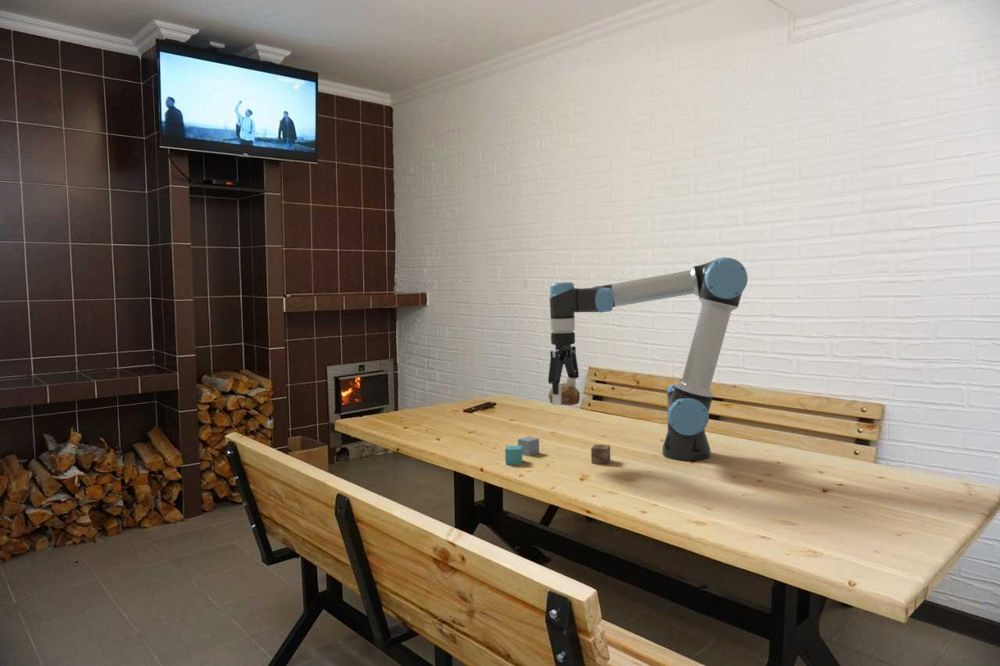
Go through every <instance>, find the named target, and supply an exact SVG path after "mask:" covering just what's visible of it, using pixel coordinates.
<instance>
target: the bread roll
mask: <svg viewBox="0 0 1000 666" xmlns="http://www.w3.org/2000/svg"><path fill="white" fill-rule="evenodd" d="M560 384H561V403H562V405H561V406H573V405H577V404H579V402H580V397H581V395H580V391H579V389H578V388H577V387H576V388H575V387H574V386H572V385H571V384H568V383H567V382H564V383H563V382H562V383H560ZM548 401H549V402H550V404H552V405H553V406H556V405H555V404H553V400H552V388H551V389H550V390H549V392H548Z"/></svg>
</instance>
